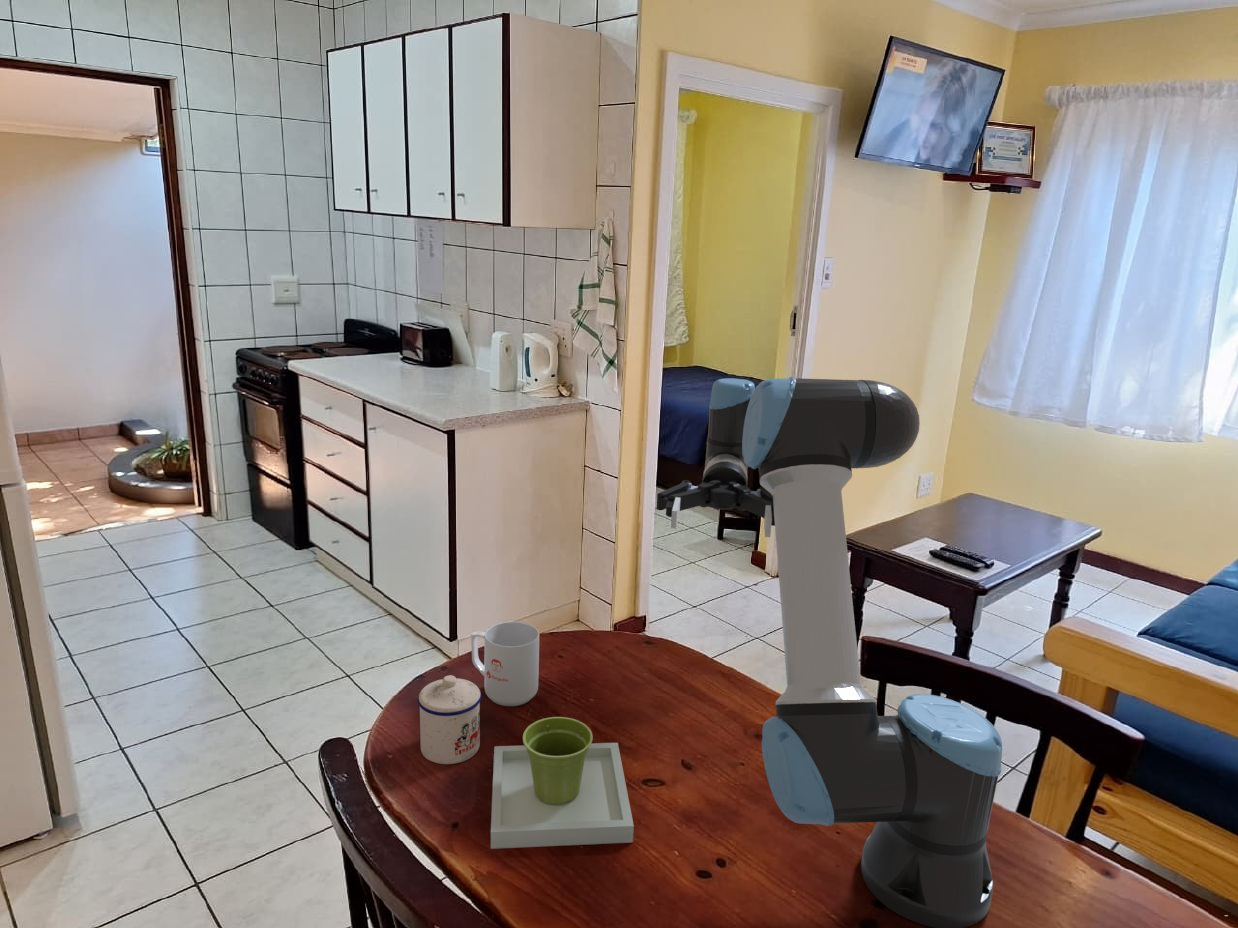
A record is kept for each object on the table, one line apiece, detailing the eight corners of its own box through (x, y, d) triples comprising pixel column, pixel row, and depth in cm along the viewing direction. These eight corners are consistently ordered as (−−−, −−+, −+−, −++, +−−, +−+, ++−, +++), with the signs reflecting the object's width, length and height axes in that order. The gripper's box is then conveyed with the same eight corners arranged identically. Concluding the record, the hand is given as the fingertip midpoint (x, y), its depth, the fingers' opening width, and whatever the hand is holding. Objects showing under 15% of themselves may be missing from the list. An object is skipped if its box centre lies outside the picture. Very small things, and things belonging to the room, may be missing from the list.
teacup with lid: (464, 772, 121) (463, 699, 118) (407, 758, 123) (405, 687, 120) (499, 727, 132) (499, 659, 129) (446, 715, 135) (445, 649, 131)
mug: (547, 688, 144) (549, 628, 141) (520, 714, 136) (521, 651, 133) (487, 671, 148) (487, 613, 145) (457, 695, 140) (457, 634, 137)
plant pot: (512, 807, 113) (513, 750, 110) (533, 765, 122) (534, 711, 119) (581, 819, 111) (583, 761, 109) (597, 775, 120) (599, 721, 118)
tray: (632, 842, 109) (633, 825, 108) (490, 848, 107) (490, 831, 106) (617, 757, 126) (617, 742, 125) (494, 761, 124) (494, 746, 123)
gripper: (797, 509, 142) (805, 556, 122) (650, 497, 146) (634, 540, 125) (802, 466, 140) (811, 506, 120) (652, 454, 144) (636, 491, 123)
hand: (720, 524), depth 123 cm, fingers open, 13 cm apart
